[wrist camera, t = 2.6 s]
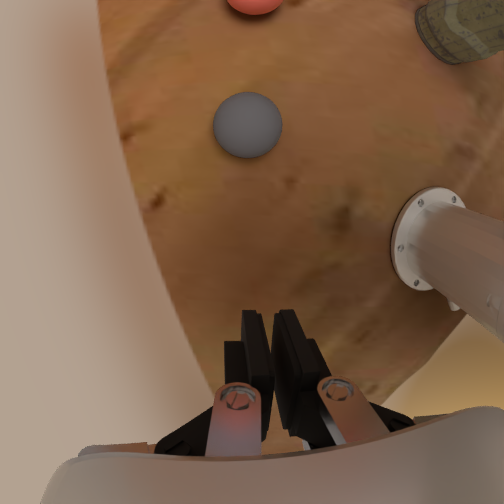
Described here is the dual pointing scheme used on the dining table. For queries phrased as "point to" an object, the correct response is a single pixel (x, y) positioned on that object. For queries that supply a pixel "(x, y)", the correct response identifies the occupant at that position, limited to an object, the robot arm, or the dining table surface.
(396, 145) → the dining table surface
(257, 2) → the red ball
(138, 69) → the dining table surface
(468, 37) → the thermos
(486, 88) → the dining table surface
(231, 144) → the gray ball
